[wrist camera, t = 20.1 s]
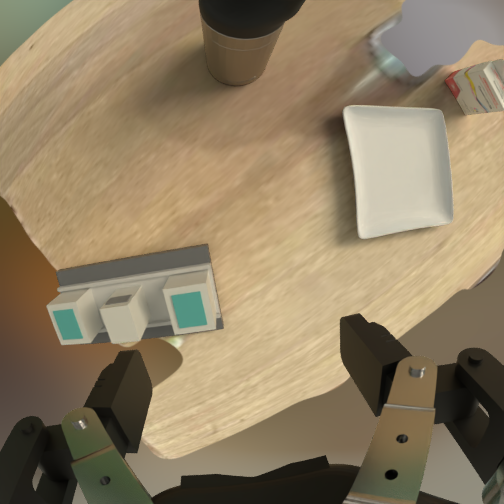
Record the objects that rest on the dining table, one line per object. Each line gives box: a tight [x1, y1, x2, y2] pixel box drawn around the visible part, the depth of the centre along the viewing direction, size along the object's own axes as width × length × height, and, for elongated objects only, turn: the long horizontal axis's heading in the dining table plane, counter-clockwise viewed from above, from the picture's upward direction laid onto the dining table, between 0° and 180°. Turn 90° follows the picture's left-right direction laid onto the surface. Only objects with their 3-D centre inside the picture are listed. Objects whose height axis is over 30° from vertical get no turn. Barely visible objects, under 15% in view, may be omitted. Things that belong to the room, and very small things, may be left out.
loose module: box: [99, 285, 151, 344], centre depth 42 cm, size 6×4×8 cm
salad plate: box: [342, 105, 453, 239], centre depth 45 cm, size 21×21×3 cm
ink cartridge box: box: [445, 59, 504, 115], centre depth 37 cm, size 9×5×15 cm, turn 42°
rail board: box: [47, 244, 224, 345], centre depth 44 cm, size 14×27×8 cm, turn 98°
